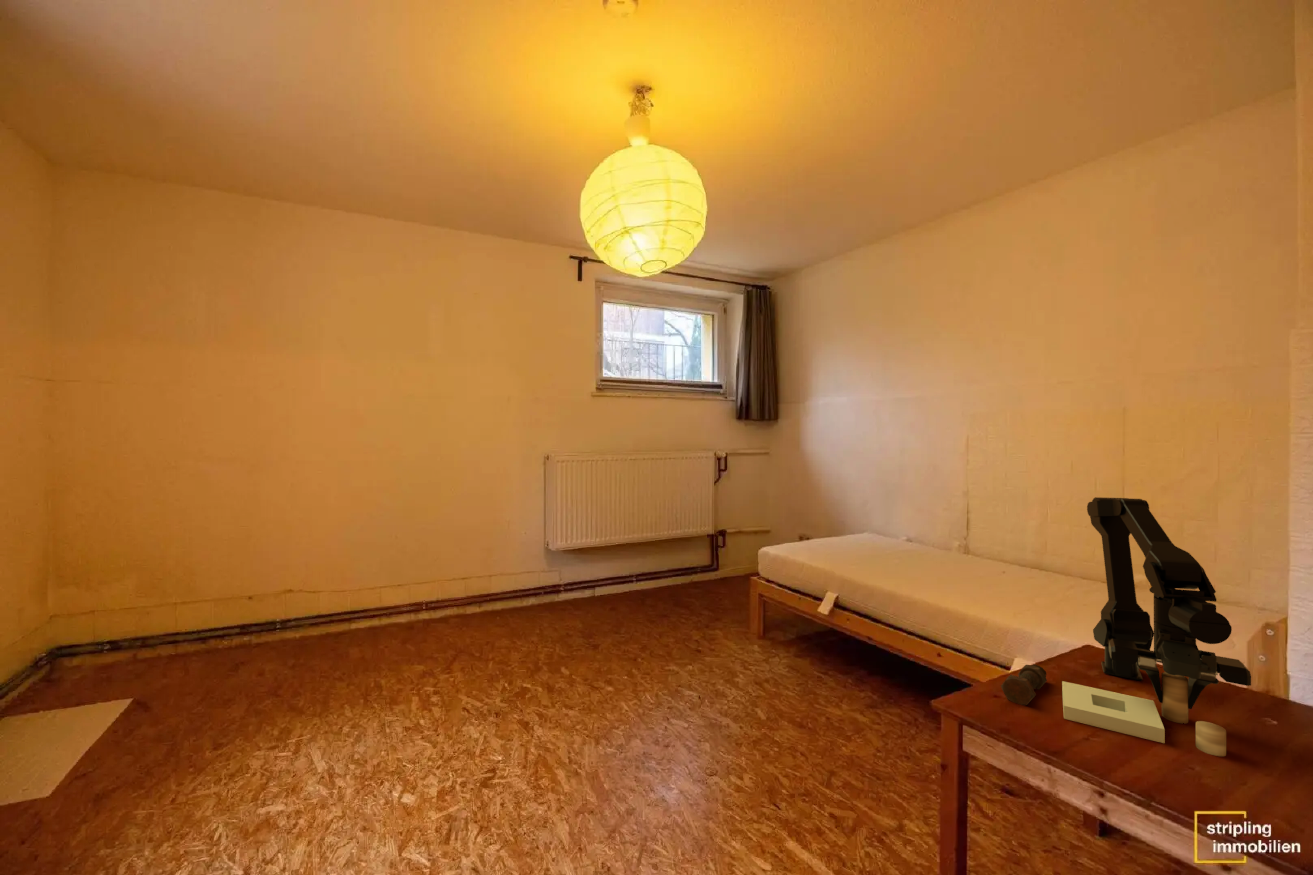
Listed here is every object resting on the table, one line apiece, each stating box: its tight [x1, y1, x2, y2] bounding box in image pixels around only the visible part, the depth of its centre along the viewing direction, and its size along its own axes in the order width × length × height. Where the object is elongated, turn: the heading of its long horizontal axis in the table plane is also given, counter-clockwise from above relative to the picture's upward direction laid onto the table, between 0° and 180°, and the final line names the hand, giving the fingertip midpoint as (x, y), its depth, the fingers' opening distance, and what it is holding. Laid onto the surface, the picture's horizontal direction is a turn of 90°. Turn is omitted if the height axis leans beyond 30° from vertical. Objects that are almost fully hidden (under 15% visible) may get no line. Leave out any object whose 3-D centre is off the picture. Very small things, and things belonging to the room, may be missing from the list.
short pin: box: [1195, 720, 1227, 757], centre depth 90 cm, size 4×4×4 cm
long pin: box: [1161, 671, 1189, 724], centre depth 100 cm, size 4×4×8 cm
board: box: [1061, 680, 1166, 744], centre depth 101 cm, size 12×14×2 cm
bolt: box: [1000, 664, 1048, 707], centre depth 111 cm, size 6×5×15 cm
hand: (1174, 704), depth 100 cm, fingers closed on long pin, 4 cm apart
